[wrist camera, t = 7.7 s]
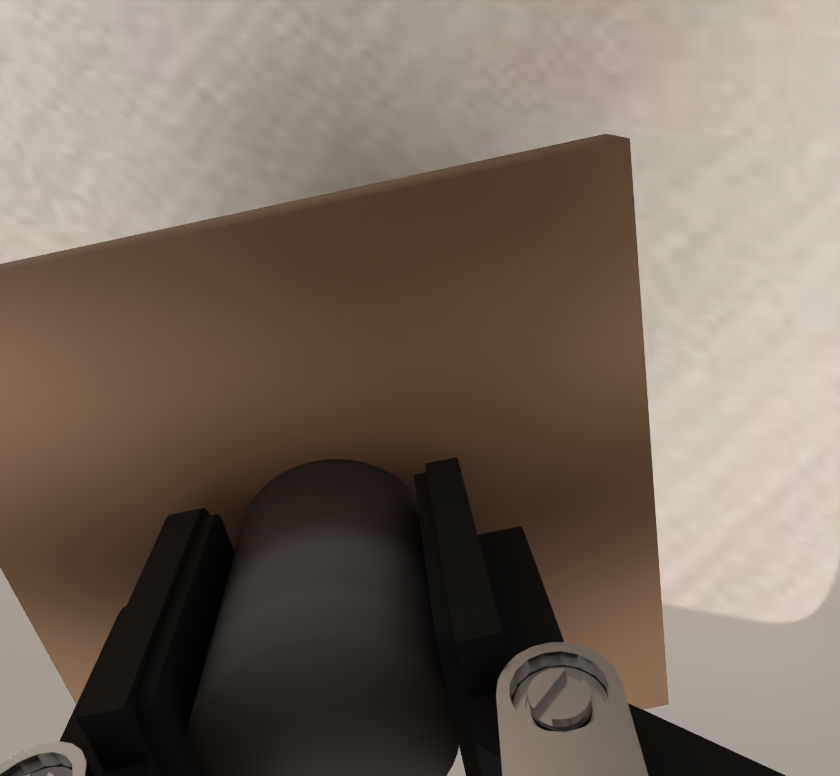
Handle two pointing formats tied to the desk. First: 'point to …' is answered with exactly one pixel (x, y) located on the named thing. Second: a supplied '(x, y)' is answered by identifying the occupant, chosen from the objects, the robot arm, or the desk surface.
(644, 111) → the desk surface
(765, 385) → the desk surface
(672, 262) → the desk surface
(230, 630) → the lid
